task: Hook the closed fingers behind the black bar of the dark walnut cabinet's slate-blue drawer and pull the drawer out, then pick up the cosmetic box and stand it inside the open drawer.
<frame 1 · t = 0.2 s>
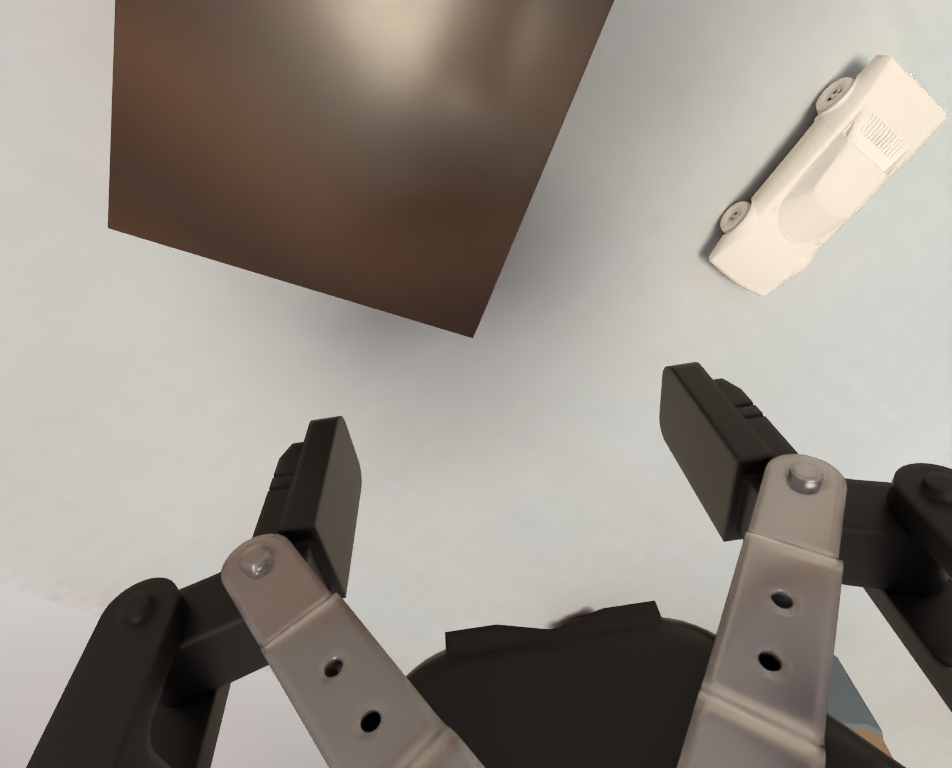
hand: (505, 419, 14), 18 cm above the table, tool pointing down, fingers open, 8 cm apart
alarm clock: (729, 670, 57), on the table
cabinet: (375, 69, 25), on the table
toy car: (798, 181, 30), on the table
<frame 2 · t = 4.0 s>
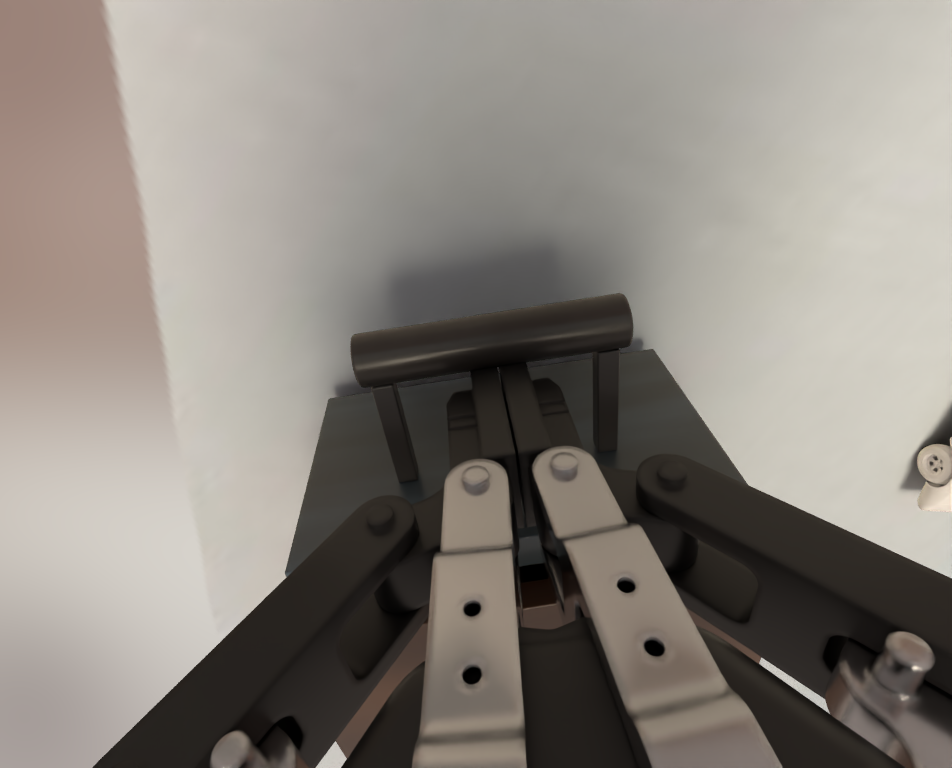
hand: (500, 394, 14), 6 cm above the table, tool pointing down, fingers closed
drawer: (515, 529, 19), point 5 cm above the table, slide at 0.5 cm, touching gripper
cabinet: (509, 516, 26), on the table
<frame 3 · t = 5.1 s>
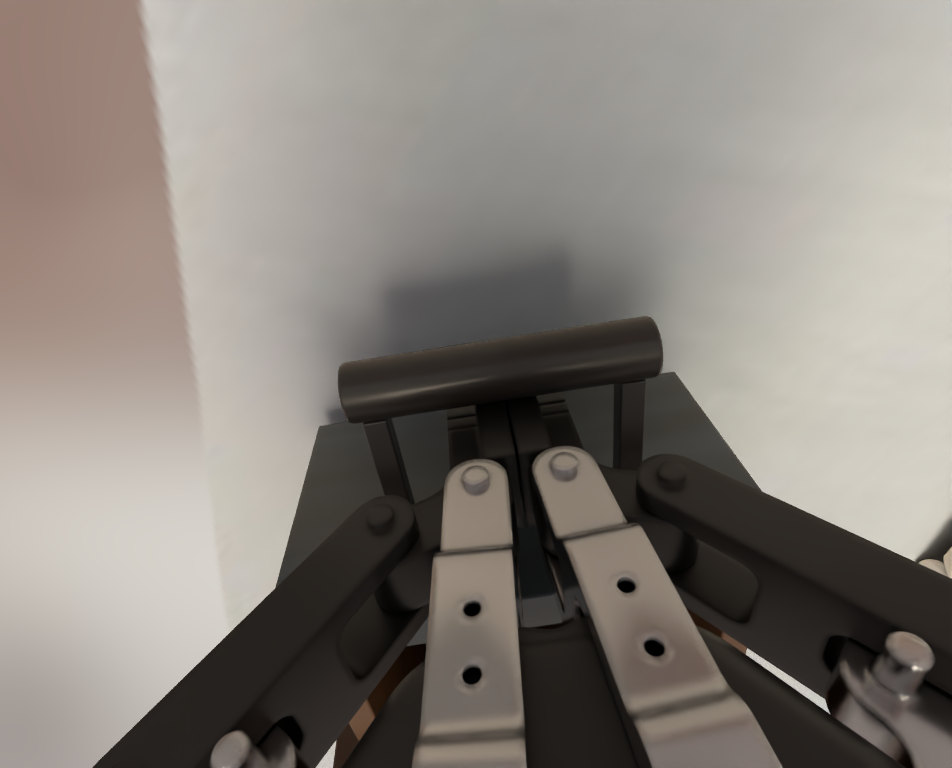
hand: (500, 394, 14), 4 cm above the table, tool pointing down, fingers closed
drawer: (523, 572, 18), point 5 cm above the table, slide at 6.5 cm, touching gripper
cabinet: (526, 624, 27), on the table
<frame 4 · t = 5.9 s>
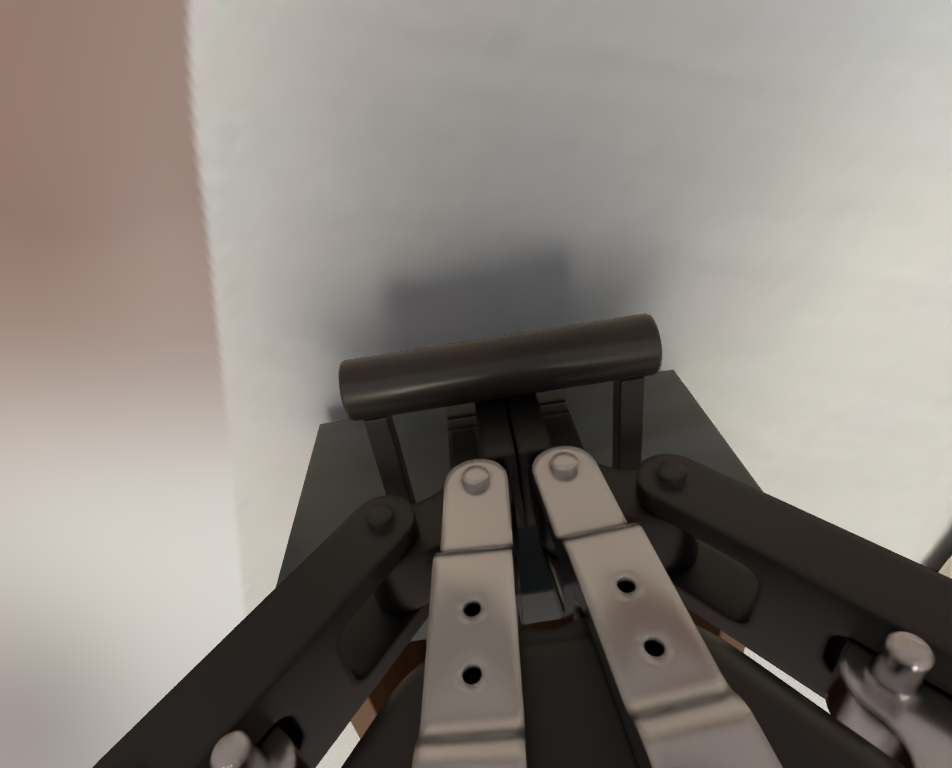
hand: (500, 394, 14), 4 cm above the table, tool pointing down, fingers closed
drawer: (523, 569, 18), point 5 cm above the table, slide at 9.4 cm, touching gripper
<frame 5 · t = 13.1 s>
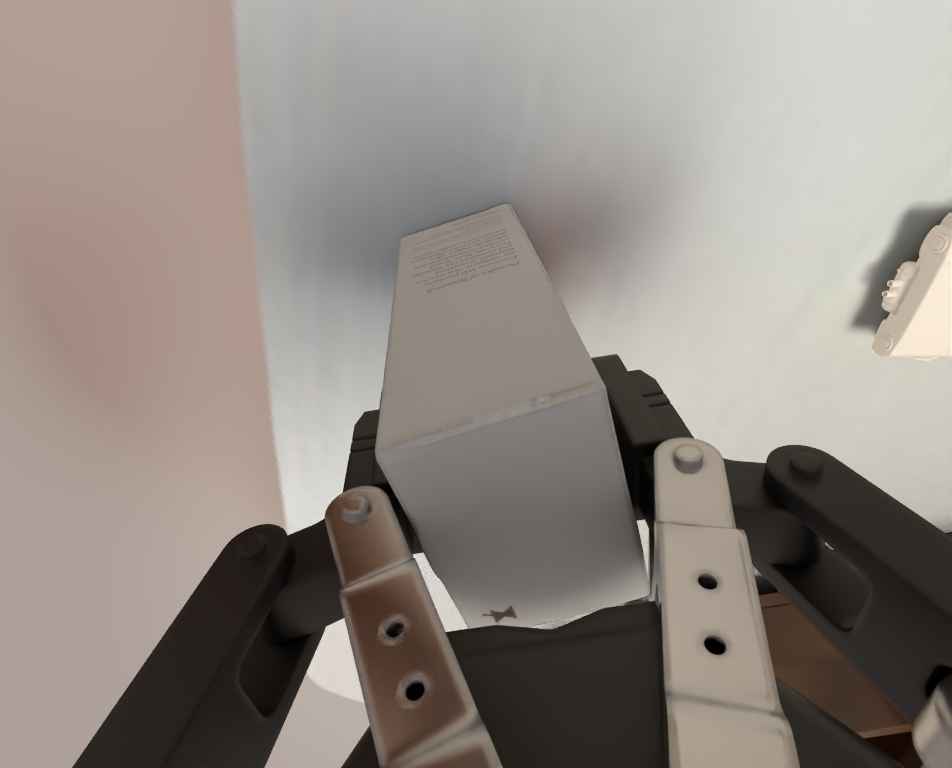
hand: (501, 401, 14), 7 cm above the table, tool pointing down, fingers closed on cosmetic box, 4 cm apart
drawer: (722, 716, 31), point 5 cm above the table, slide at 9.5 cm
cosmetic box: (478, 288, 20), on the table, touching gripper
cabinet: (899, 605, 34), on the table
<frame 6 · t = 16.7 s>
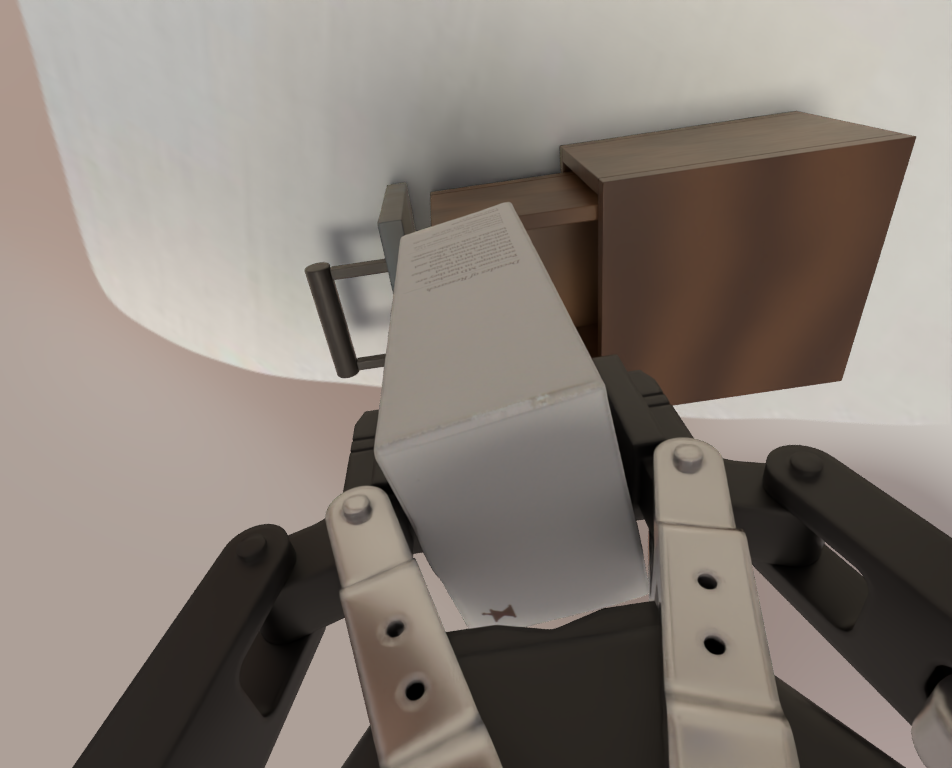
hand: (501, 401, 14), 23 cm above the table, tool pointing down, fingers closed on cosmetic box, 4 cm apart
drawer: (475, 295, 32), point 5 cm above the table, slide at 9.5 cm
cosmetic box: (478, 287, 20), point 16 cm above the table, touching gripper
cabinet: (669, 237, 36), on the table
when the fingers open (9 cm above the table, at t = 20.6 s): cosmetic box stays where it is, resting on drawer.
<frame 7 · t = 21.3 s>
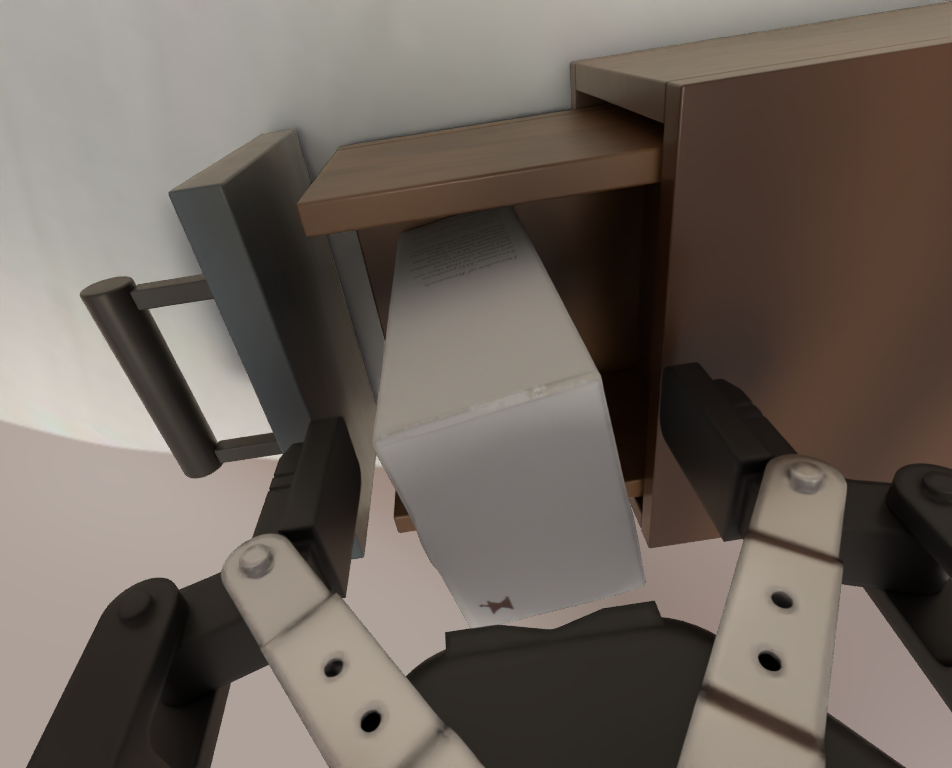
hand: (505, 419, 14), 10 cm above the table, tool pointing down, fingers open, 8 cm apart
drawer: (421, 331, 18), point 5 cm above the table, slide at 9.5 cm, touching cosmetic box
cosmetic box: (476, 284, 21), point 2 cm above the table, touching drawer
cabinet: (752, 225, 22), on the table
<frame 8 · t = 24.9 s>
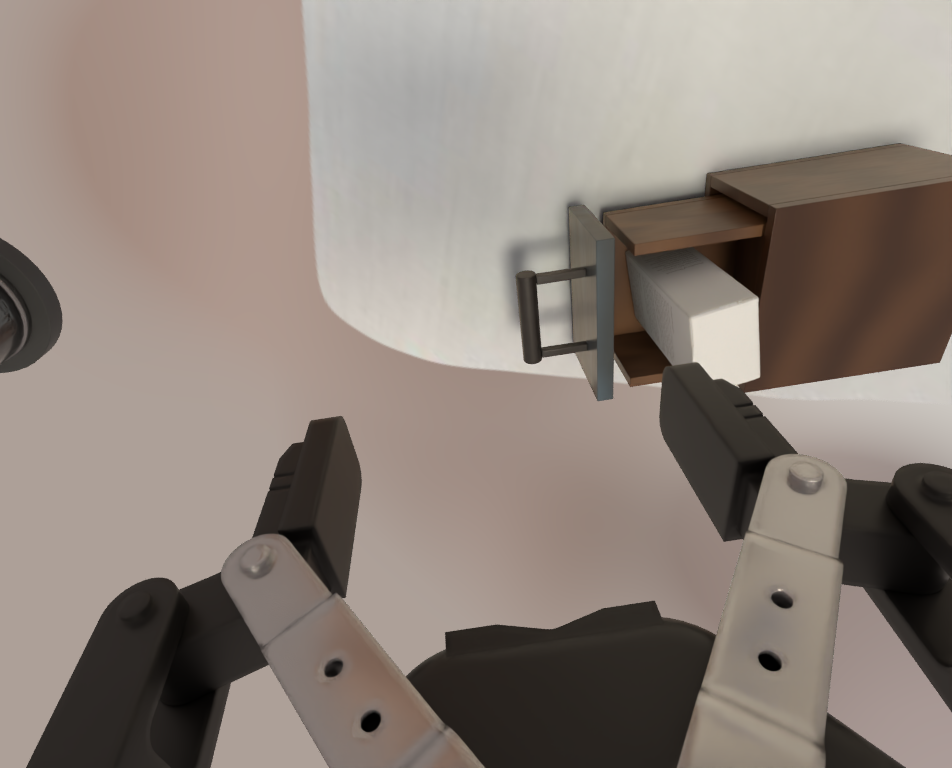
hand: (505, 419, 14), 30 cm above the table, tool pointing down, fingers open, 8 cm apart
drawer: (640, 295, 40), point 5 cm above the table, slide at 9.5 cm, touching cosmetic box
cosmetic box: (654, 274, 42), point 2 cm above the table, touching drawer
cabinet: (786, 245, 44), on the table
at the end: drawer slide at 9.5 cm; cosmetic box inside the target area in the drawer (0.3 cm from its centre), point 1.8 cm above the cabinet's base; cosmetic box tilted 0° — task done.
